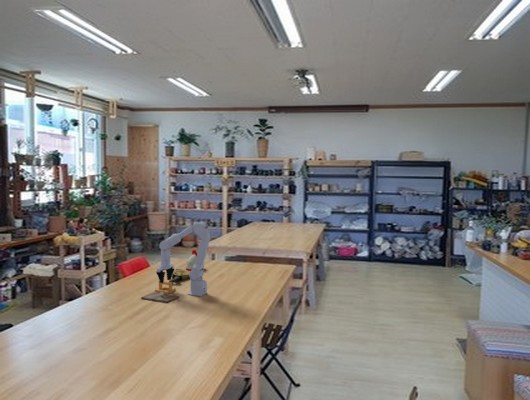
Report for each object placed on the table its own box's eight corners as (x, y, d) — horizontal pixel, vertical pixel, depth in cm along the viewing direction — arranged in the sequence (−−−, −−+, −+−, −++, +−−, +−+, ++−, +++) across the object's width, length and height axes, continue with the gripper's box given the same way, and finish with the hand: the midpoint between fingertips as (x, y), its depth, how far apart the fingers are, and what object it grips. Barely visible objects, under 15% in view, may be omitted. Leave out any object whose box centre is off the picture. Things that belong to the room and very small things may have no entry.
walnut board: (179, 297, 238) (179, 295, 238) (167, 303, 227) (167, 301, 227) (154, 293, 245) (154, 292, 245) (141, 298, 234) (141, 297, 234)
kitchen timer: (198, 266, 323) (198, 248, 322) (207, 269, 312) (207, 250, 311) (182, 268, 314) (182, 249, 313) (191, 272, 303) (191, 252, 303)
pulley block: (161, 275, 266) (176, 265, 296) (160, 283, 267) (175, 273, 296) (182, 279, 265) (195, 269, 294) (180, 287, 265) (194, 277, 295)
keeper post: (163, 297, 236) (163, 291, 236) (162, 298, 234) (162, 292, 234) (161, 297, 236) (161, 291, 236) (159, 297, 235) (160, 292, 235)
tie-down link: (175, 290, 253) (175, 281, 252) (167, 294, 244) (167, 284, 244) (163, 288, 256) (163, 279, 256) (154, 292, 248) (154, 282, 247)
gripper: (167, 257, 257) (167, 278, 258) (152, 261, 244) (152, 283, 245) (176, 258, 255) (176, 279, 255) (162, 262, 241) (162, 284, 242)
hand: (165, 281), depth 250 cm, fingers open, 7 cm apart
